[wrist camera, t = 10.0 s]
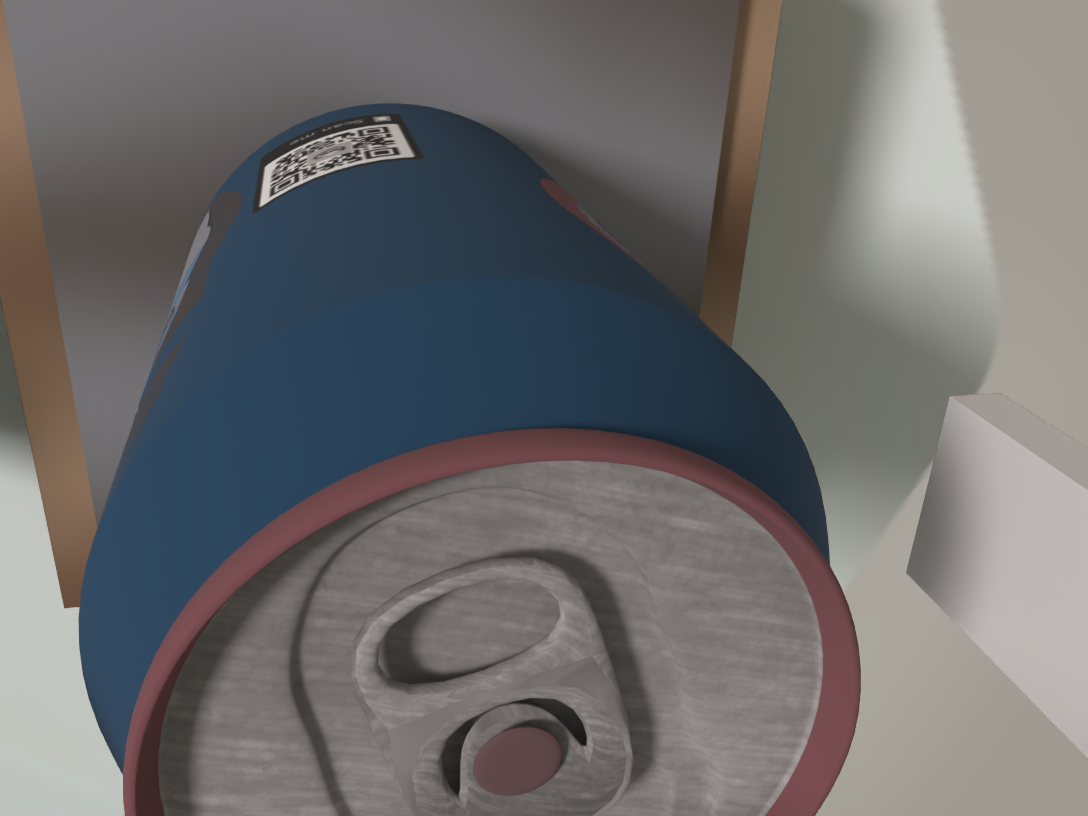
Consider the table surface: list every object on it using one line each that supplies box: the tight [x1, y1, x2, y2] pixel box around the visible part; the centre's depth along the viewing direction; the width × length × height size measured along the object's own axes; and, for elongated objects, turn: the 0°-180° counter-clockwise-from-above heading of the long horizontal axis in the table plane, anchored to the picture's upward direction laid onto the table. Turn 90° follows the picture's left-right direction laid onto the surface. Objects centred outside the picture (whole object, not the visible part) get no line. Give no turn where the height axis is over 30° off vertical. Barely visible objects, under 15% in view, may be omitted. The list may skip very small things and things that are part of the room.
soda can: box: [79, 103, 861, 816], centre depth 13 cm, size 7×7×12 cm
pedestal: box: [0, 0, 782, 608], centre depth 21 cm, size 14×14×6 cm
